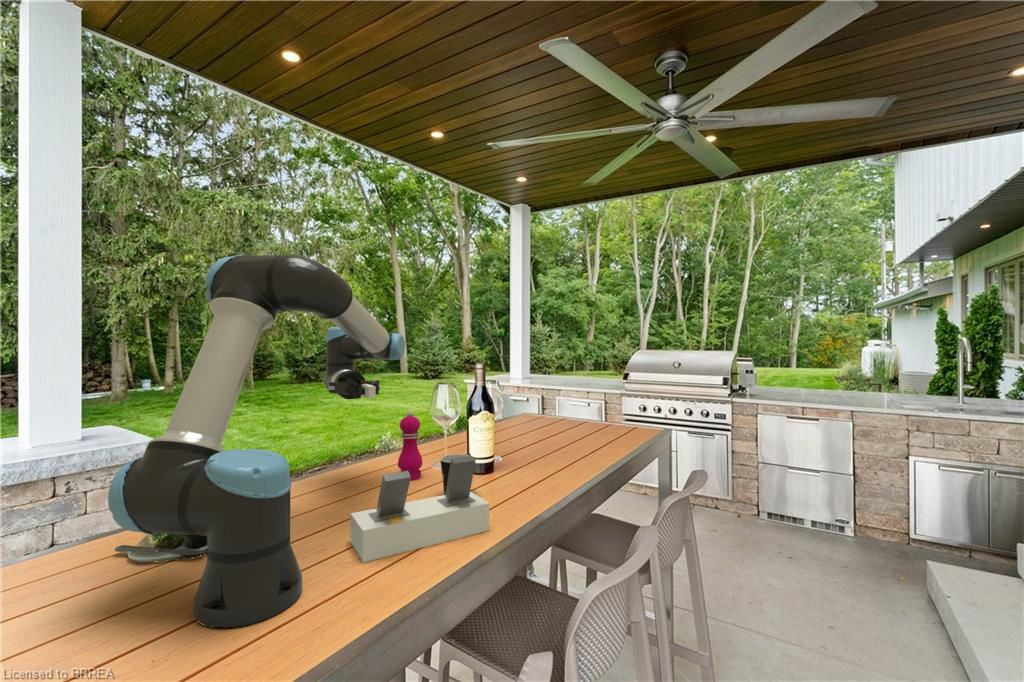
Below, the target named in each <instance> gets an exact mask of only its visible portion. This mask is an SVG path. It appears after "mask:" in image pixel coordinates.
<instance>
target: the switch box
mask: <svg viewBox="0 0 1024 682" xmlns="http://www.w3.org/2000/svg"><path fill="white" fill-rule="evenodd" d="M376 510H377V507H376V508H372V509H366V510H361V511H356V512H351V513H350V544H351V546H352V547H353V548H354V550H355V552H356V553H357V555H358V557H359V558H360V560H361V562H362V563H366V562H367V563H368V562H371V561H375V560H378V559H382V558H386V557H391V556H394V555H398V554H403V553H406V552H409V551H414V550H418V549H419V550H420V549H421V548H422V549H423V548H425V547H426V548H427V547H430V546H434V545H437V544H438V545H439V544H443V543H447V542H450V541H453V540H457V539H462V538H466V537H469V535H470V536H473V534H474V535H476V533H478V534H481V532H482V533H486V532H489V531H490V502H488V501H487V500H485V499H483V498H482V497H480V496H478V495H477V494H476V493H474V492H472V491H471V490H470V495H469V498H465V499H460V500H455V501H450V502H448V501H447V499H446V498H445V495H438V496H432V497H427V498H422V499H417V500H412V501H406V502H405V506H404V511H403V512H402V513H397V514H392V515H388V516H383V517H378V514H377V511H376ZM488 530H489V531H488ZM485 531H486V532H485Z"/></svg>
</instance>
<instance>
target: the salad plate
mask: <svg viewBox="0 0 1024 682" xmlns="http://www.w3.org/2000/svg"><path fill="white" fill-rule="evenodd" d="M114 552H117V553H124V554H126V555H127V557H128V559H130V560H132V561H135V562H137V563H143V562H155V561H164V562H166V561H165V560H172V561H175V560H174V559H181V560H184V559H183V558H189V559H192V558H191V557H195V558H198V557H197V556H200V555H203V556H205V555H204V554H206V555H207V536H200V535H179V534H156V535H151V534H146V535H145V536H144V537H143V538H142V539H141V540H140V541H139V542H138V544H136V545H130V544H129V545H127V544H121V545H118V546H115V548H114ZM200 557H201V556H200Z"/></svg>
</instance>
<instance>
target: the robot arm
mask: <svg viewBox="0 0 1024 682" xmlns="http://www.w3.org/2000/svg"><path fill="white" fill-rule="evenodd" d="M204 287H206V290H205V291H204V293H205V296H206V299H207V301H208V303H209V309H210V311H211V313H212V314H213V315H214V316H213V319H212V322H211V323H210V326H209V327H208V328H209V329H208V330H207V333H206V335H205V337H204V340H203V342H202V345H201V347H200V349H199V351H198V354H197V356H196V358H195V361H194V363H193V365H192V368H191V370H190V373H189V375H188V377H187V380H186V382H185V384H184V387H183V389H182V392H181V393H180V396H179V398H178V400H177V403H176V406H175V408H174V410H173V412H172V415H171V417H170V420H169V422H168V425H167V427H166V429H165V431H164V433H163V434H161V435H159V436H157V437H155V438H153V439H151V440H150V441H149V442H148V443H147V446H146V449H145V451H144V452H143V455H142V456H139V457H137V458H134V459H131V460H130V461H129V460H128V462H127V464H124V465H122V466H121V467H120V468H119V469H118V470H117V472H116V473H115V475H114V476H113V478H112V480H111V482H110V486H109V489H108V492H107V493H108V495H107V504H108V509H109V512H111V513H112V519H113V520H114V522H115V523H116V524H117V525H118V526H119V527H121V528H122V529H124V530H127V531H130V532H136V533H142V534H145V535H147V534H151V535H156V534H179V535H200V536H207V554H206V556H207V557H206V558H207V560H206V563H205V566H204V570H203V572H202V576H201V578H200V581H199V584H198V586H197V590H196V592H195V595H194V599H193V617H194V616H195V618H196V620H197V621H199V622H200V623H202V624H204V625H207V626H212V627H232V628H239V627H244V626H248V625H252V624H255V623H259V622H262V621H265V620H267V619H270V618H272V617H273V616H276V615H278V614H280V613H282V612H284V611H285V610H287V609H288V608H290V606H292V605H294V603H295V602H296V601H297V600H299V597H301V595H302V592H303V573H302V571H301V567H300V565H299V563H298V560H297V557H296V555H295V553H294V550H293V547H292V545H291V489H292V479H291V474H290V473H291V472H290V463H289V462H288V461H287V458H286V457H284V456H283V455H282V454H280V453H278V452H275V451H271V450H265V449H258V448H247V449H241V448H240V449H239V448H238V449H237V448H236V449H229V450H226V449H224V447H223V444H222V442H223V439H224V437H225V434H226V432H227V429H228V426H229V423H230V421H231V418H232V415H233V412H234V409H235V407H236V404H237V401H238V399H239V395H240V393H241V391H242V388H243V385H244V382H245V378H246V376H247V373H248V370H249V368H250V365H251V362H252V359H253V358H254V354H255V351H256V349H257V346H258V343H259V340H260V338H261V334H262V333H263V331H265V330H267V329H270V328H272V327H273V325H274V323H275V321H276V318H277V315H278V313H279V312H282V313H283V312H284V313H285V312H302V313H303V312H304V313H312V314H314V315H316V316H317V317H318V318H320V319H323V320H329V321H331V322H332V323H333V324H334V325H335V326H330V327H328V328H327V330H326V341H325V344H326V366H325V367H326V368H325V369H326V371H325V374H324V377H323V384H324V386H325V387H326V389H327V391H328V393H329V394H334V395H337V396H339V397H341V398H343V399H344V400H355V399H362V397H364V398H367V399H369V400H372V399H376V397H377V395H379V394H380V393H379V391H380V390H381V382H380V381H381V380H378V379H377V380H372V381H371V380H366V379H365V377H364V375H362V373H360V372H358V371H356V370H355V361H358V360H359V361H360V360H361V361H362V360H363V361H364V360H366V361H371V360H372V361H378V360H379V361H394V360H401V359H402V358H403V357H404V355H405V352H406V342H405V337H404V335H402V334H401V333H396V332H392V333H391V332H388V331H387V329H385V327H384V326H382V324H380V322H379V321H378V320H377V319H376V318H375V317H374V316H373V315H372V314H371V313H370V312H369V311H368V310H367V309H366V308H365V306H363V305H362V304H361V302H359V300H358V299H357V298H356V297H354V292H353V289H352V287H351V286H350V284H349V283H348V282H347V281H346V280H345V279H344V278H342V277H341V276H340V275H339V274H338V273H336V271H334V270H332V269H330V268H329V267H328V266H326V265H324V264H322V263H320V262H319V261H316V260H314V259H312V258H309V257H306V256H303V255H299V254H266V255H264V254H262V255H261V254H259V255H257V254H256V255H251V254H249V255H248V254H237V255H234V256H225V257H222V258H220V259H219V260H217V261H216V262H214V263H213V264H212V265H211V267H210V268H209V269H208V270H207V273H206V277H205V280H204ZM195 618H194V619H195ZM196 620H195V621H196ZM197 621H196V622H197ZM200 623H199V624H200ZM204 625H203V626H204ZM207 626H206V627H207ZM238 626H239V627H238ZM212 627H211V628H212Z"/></svg>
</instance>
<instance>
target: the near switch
mask: <svg viewBox="0 0 1024 682" xmlns="http://www.w3.org/2000/svg"><path fill="white" fill-rule="evenodd" d="M410 479H411V476H410V474H409V472H408V471H403V472H400V471H398V472H393V473H385V474H382V480H381V484H380V489H379V495H378V500H377V507H376V508H377V510H376V511H377V514H378V517H383V516H388V515H392V514H397V513H402V512H403V511H404V506H405V503H406V502H407V501H406V500H407V498H408V497H407V496H408V492H409V489H410V482H411V481H410Z"/></svg>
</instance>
